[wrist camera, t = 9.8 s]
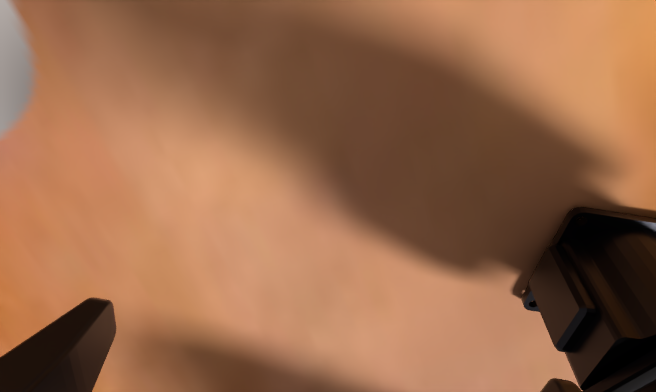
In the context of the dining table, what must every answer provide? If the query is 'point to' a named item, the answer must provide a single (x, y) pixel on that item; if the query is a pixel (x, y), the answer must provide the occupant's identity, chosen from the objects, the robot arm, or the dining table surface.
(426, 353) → the dining table surface
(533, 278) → the robot arm
